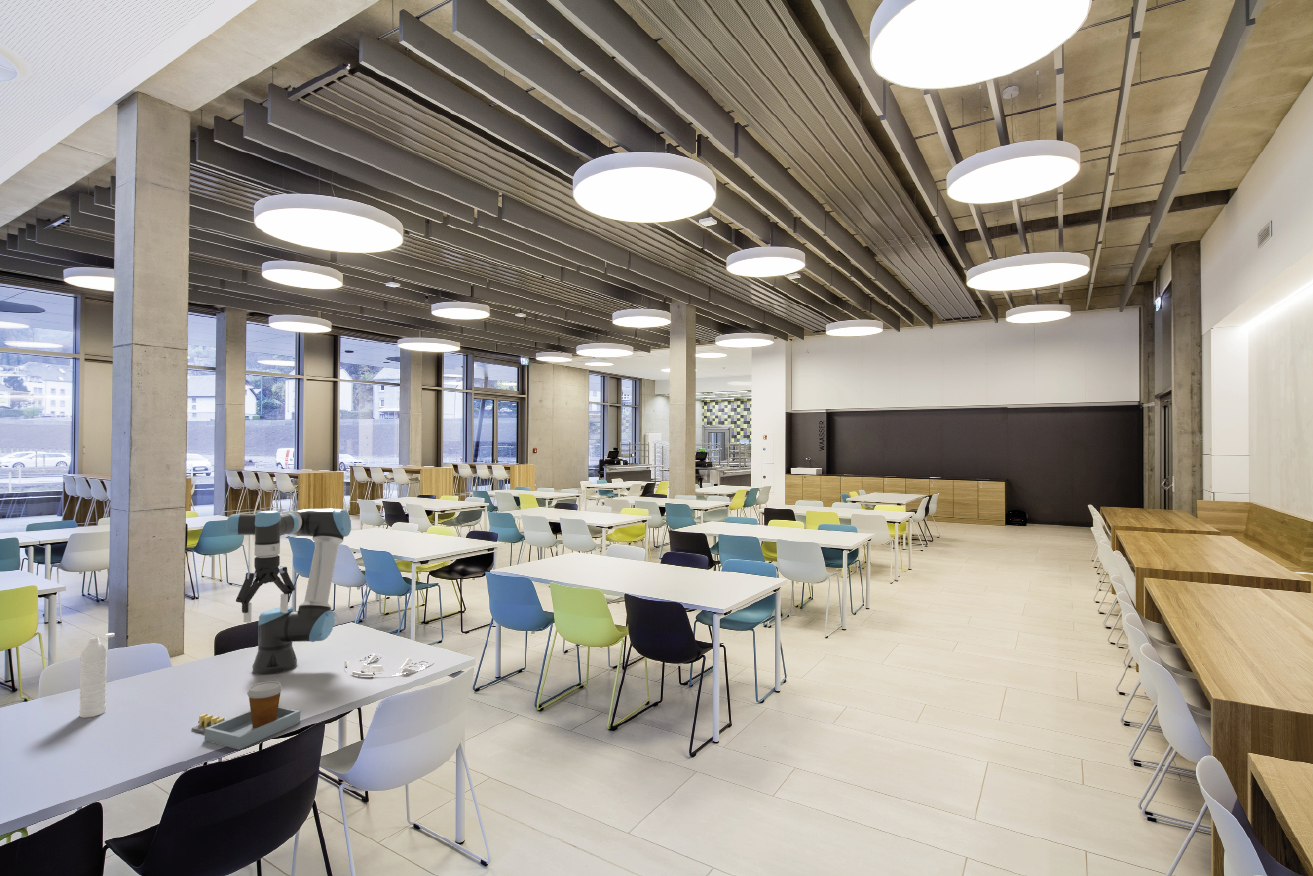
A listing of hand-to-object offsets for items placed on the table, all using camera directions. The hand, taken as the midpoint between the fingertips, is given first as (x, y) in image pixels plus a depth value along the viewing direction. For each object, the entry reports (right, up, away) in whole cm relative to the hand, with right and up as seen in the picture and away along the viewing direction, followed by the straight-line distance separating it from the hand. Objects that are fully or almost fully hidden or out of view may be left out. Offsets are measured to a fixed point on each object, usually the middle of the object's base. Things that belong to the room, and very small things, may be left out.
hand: (266, 617), depth 221 cm
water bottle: (-49, -28, -12) cm, 57 cm away
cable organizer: (+26, -30, +34) cm, 52 cm away
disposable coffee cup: (+12, -28, -21) cm, 37 cm away
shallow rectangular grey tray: (+11, -29, -24) cm, 39 cm away
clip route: (-3, -28, -23) cm, 37 cm away
